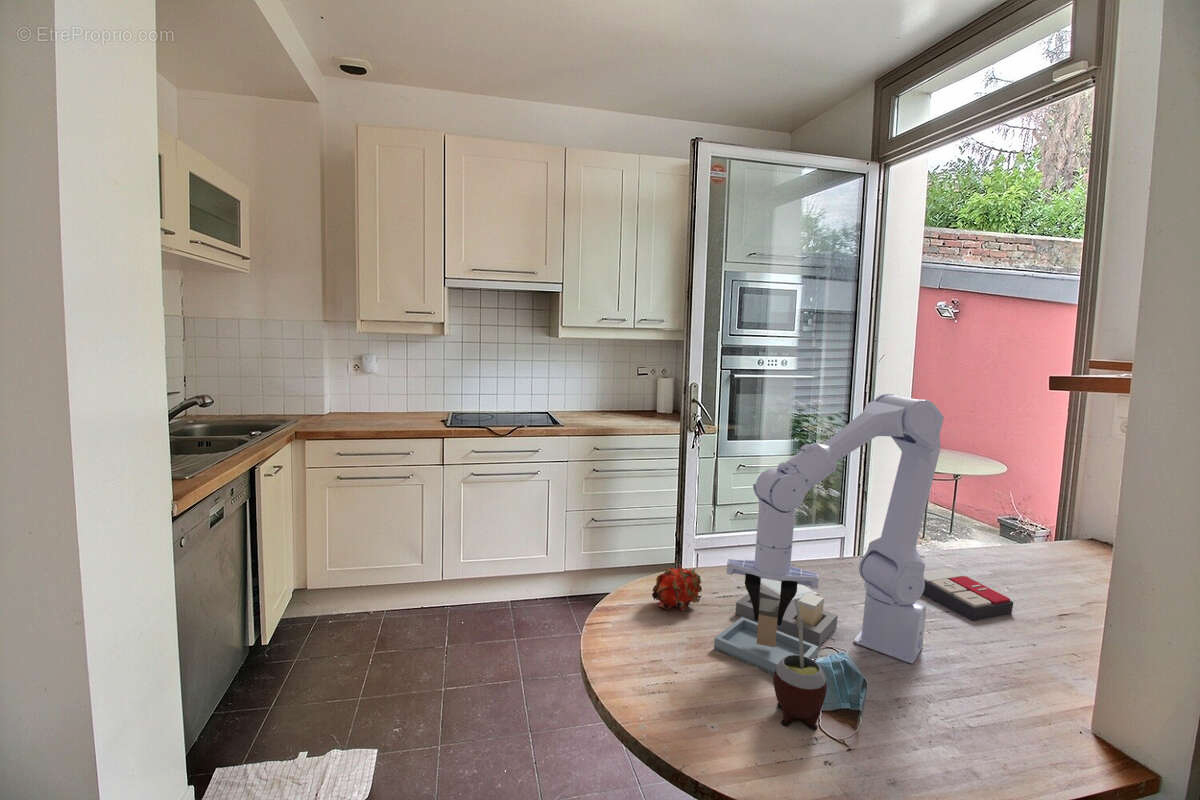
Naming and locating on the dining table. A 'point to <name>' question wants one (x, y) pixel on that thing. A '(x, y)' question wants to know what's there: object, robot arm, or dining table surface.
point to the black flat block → (965, 595)
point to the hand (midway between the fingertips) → (767, 620)
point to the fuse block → (791, 619)
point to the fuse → (811, 609)
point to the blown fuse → (767, 622)
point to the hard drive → (776, 588)
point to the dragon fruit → (677, 588)
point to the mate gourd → (799, 685)
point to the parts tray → (759, 646)
